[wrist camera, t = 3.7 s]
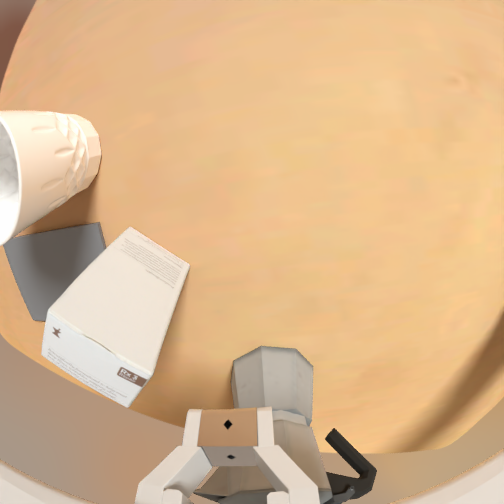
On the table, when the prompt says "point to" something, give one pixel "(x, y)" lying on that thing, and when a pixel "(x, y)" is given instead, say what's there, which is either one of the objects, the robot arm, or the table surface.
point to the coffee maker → (285, 432)
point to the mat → (52, 263)
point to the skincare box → (116, 317)
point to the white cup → (42, 165)
